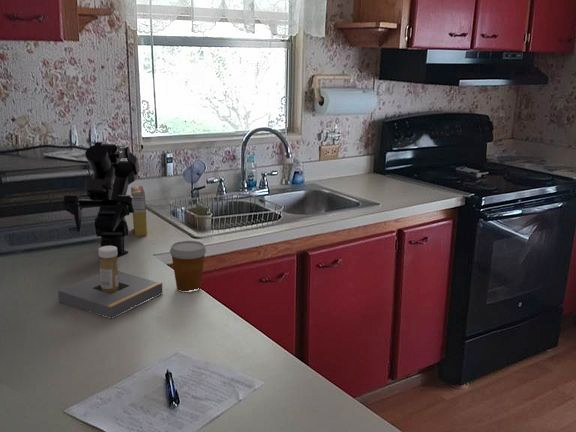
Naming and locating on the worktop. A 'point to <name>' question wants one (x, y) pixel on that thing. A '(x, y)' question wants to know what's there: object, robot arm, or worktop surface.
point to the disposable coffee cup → (188, 264)
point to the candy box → (139, 211)
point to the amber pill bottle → (108, 269)
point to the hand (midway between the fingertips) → (95, 230)
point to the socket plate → (107, 304)
